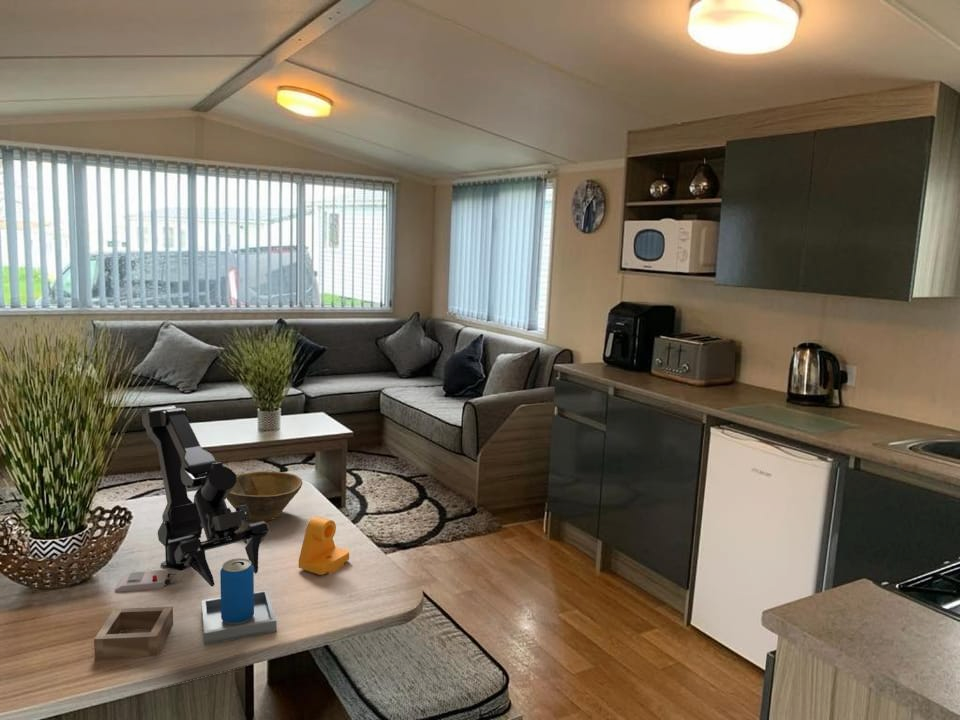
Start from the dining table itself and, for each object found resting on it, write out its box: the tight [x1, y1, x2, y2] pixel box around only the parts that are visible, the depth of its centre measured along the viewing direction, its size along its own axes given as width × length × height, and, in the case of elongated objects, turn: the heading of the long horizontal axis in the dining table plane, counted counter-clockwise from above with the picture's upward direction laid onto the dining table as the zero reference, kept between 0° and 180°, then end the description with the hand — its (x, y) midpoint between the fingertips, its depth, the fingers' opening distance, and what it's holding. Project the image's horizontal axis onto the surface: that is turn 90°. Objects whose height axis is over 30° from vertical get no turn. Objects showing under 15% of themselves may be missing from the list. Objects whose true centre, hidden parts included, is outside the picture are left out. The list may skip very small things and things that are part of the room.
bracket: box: [298, 515, 350, 575], centre depth 169 cm, size 11×7×12 cm, turn 151°
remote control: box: [114, 569, 184, 593], centre depth 158 cm, size 7×16×3 cm, turn 106°
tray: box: [200, 589, 277, 646], centre depth 144 cm, size 14×14×2 cm
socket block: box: [93, 605, 174, 660], centre depth 135 cm, size 11×11×4 cm
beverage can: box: [219, 557, 255, 625], centre depth 143 cm, size 6×6×12 cm
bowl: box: [226, 470, 303, 523], centre depth 199 cm, size 22×23×10 cm
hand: (235, 579), depth 143 cm, fingers open, 9 cm apart
